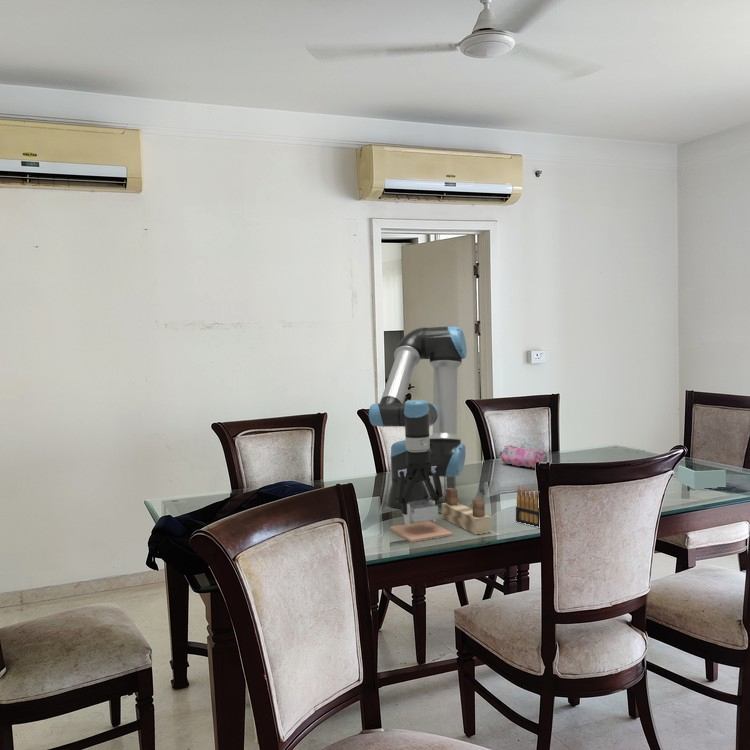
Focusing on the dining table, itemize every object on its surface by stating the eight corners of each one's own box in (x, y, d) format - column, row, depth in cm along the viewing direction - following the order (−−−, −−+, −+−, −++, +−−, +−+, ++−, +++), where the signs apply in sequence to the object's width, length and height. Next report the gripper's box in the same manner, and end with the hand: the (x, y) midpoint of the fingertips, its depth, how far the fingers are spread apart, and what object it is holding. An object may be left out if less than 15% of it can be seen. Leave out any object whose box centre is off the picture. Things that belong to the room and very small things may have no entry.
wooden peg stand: (442, 518, 230) (441, 488, 229) (455, 516, 231) (454, 486, 231) (476, 535, 209) (475, 502, 209) (490, 532, 211) (489, 500, 210)
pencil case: (498, 465, 315) (498, 445, 314) (512, 462, 320) (512, 443, 320) (535, 471, 298) (534, 451, 297) (548, 468, 303) (548, 448, 302)
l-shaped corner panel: (726, 490, 253) (725, 470, 253) (694, 492, 253) (694, 471, 252) (708, 483, 265) (708, 464, 265) (678, 484, 265) (677, 465, 264)
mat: (389, 529, 219) (389, 526, 219) (428, 522, 224) (428, 520, 224) (411, 542, 204) (411, 540, 204) (452, 535, 210) (452, 533, 209)
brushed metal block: (402, 515, 216) (401, 502, 216) (425, 512, 219) (424, 499, 219) (414, 522, 208) (414, 509, 208) (438, 518, 211) (437, 505, 211)
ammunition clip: (515, 522, 222) (514, 485, 221) (519, 521, 223) (518, 484, 222) (542, 529, 213) (541, 490, 212) (546, 527, 214) (545, 489, 214)
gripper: (392, 455, 205) (394, 530, 206) (453, 448, 213) (455, 520, 214) (382, 451, 212) (384, 524, 213) (441, 445, 220) (443, 515, 221)
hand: (420, 522), depth 214 cm, fingers closed on brushed metal block, 8 cm apart
